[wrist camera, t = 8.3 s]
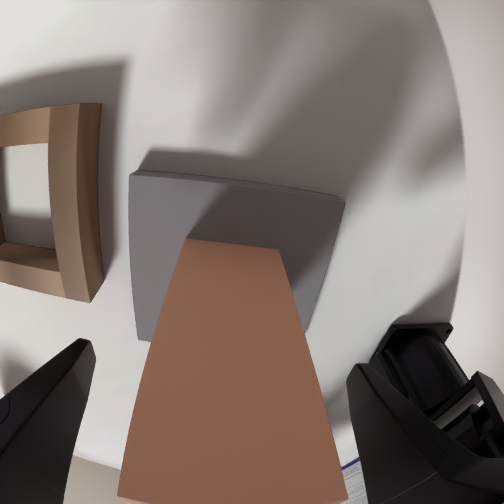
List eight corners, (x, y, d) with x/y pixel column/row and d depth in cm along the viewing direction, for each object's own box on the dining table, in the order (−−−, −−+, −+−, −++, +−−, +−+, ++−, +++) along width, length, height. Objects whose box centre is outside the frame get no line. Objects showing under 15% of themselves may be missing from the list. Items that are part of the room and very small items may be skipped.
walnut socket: (101, 103, 10) (79, 103, 8) (104, 280, 14) (90, 302, 12) (-18, 121, 8) (-41, 127, 7) (-4, 260, 12) (-20, 275, 11)
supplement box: (334, 470, 31) (348, 530, 21) (359, 456, 29) (377, 521, 19) (362, 467, 32) (376, 522, 22) (386, 452, 30) (404, 511, 20)
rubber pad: (337, 196, 12) (345, 203, 11) (293, 342, 16) (296, 354, 15) (136, 170, 11) (129, 175, 10) (142, 328, 15) (138, 339, 14)
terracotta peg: (278, 249, 12) (348, 498, 3) (261, 320, 14) (289, 524, 5) (185, 238, 12) (116, 495, 3) (182, 312, 13) (150, 519, 5)
